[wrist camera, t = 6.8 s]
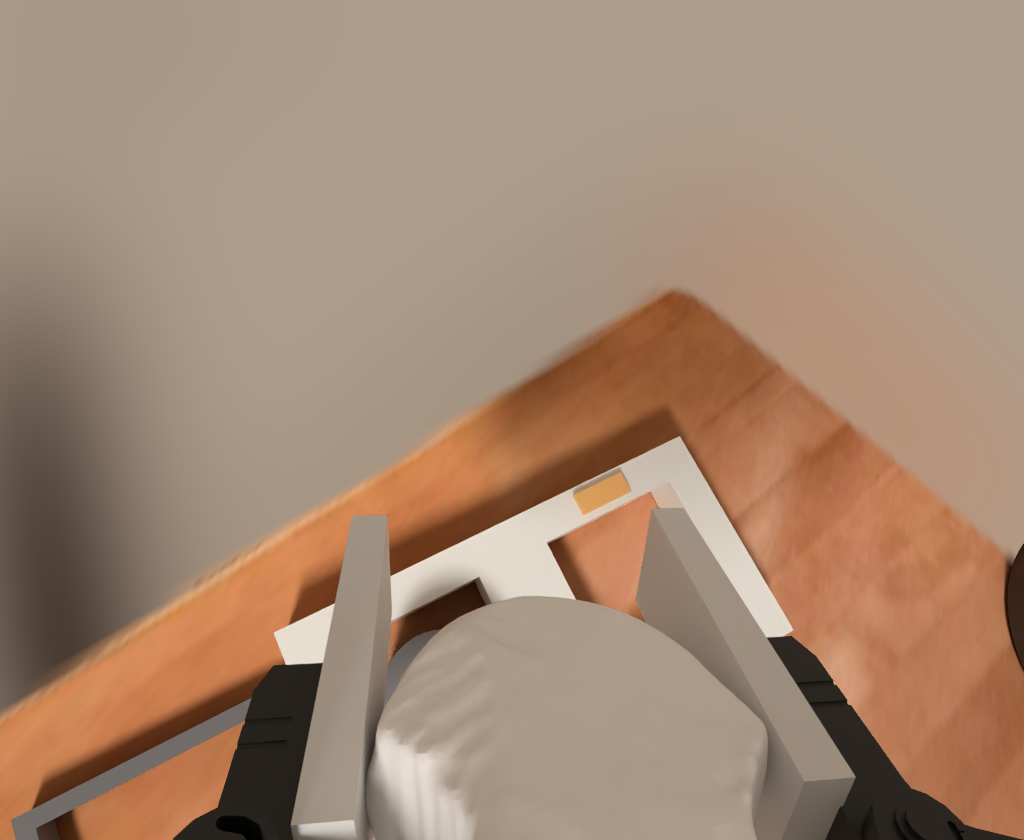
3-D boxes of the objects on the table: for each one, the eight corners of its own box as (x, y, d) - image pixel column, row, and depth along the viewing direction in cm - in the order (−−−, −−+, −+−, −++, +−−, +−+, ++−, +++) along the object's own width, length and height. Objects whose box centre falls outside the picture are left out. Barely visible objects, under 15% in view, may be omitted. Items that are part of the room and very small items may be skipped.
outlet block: (764, 630, 36) (827, 629, 31) (377, 868, 30) (368, 923, 24) (660, 450, 39) (701, 419, 33) (286, 632, 32) (258, 632, 27)
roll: (863, 526, 7) (1064, 1206, 5) (596, 594, 18) (630, 813, 16) (299, 590, 6) (311, 1443, 4) (388, 619, 17) (400, 854, 15)
